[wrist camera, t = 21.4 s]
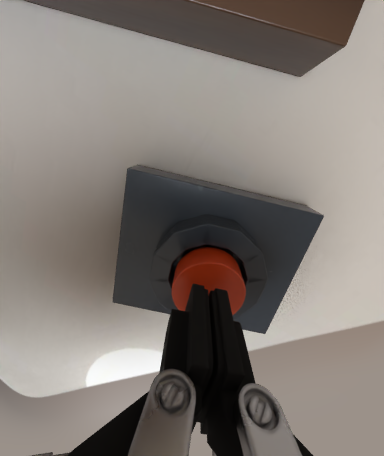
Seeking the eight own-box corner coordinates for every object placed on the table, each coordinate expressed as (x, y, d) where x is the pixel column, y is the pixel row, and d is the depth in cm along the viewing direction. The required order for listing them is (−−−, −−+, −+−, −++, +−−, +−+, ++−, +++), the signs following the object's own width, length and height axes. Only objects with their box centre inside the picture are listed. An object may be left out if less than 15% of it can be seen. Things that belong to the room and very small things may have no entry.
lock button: (169, 294, 13) (165, 315, 12) (182, 240, 12) (179, 254, 10) (229, 307, 14) (233, 329, 12) (249, 255, 12) (256, 272, 11)
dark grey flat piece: (122, 284, 18) (101, 321, 14) (137, 164, 14) (115, 171, 10) (257, 313, 18) (272, 356, 15) (307, 205, 15) (343, 226, 11)
